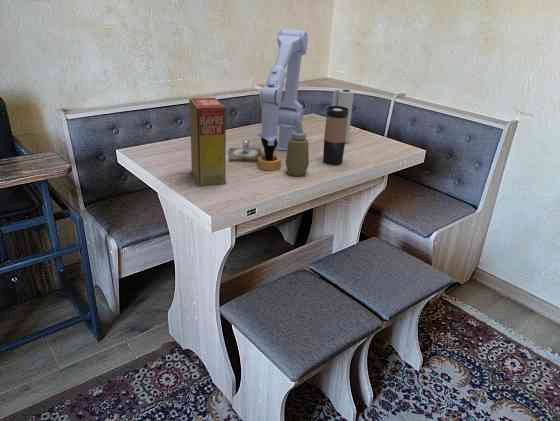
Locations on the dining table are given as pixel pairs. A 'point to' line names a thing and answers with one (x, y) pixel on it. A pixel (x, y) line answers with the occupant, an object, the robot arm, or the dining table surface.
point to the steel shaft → (245, 147)
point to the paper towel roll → (344, 105)
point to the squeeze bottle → (297, 152)
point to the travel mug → (335, 135)
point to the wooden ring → (269, 163)
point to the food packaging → (208, 140)
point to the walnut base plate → (244, 155)
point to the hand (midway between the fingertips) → (268, 158)
